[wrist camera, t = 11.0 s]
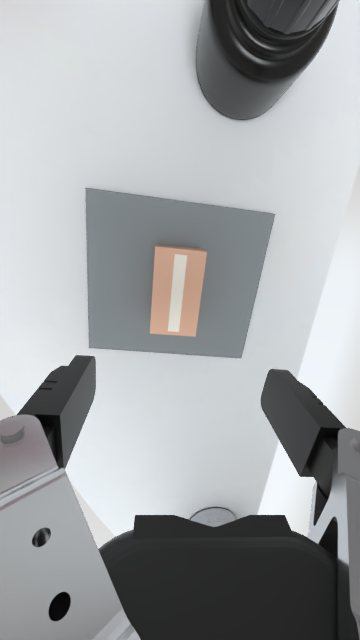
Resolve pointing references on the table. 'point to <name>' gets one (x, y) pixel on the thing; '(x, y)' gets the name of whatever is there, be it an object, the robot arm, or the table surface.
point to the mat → (138, 268)
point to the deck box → (176, 290)
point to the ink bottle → (257, 50)
